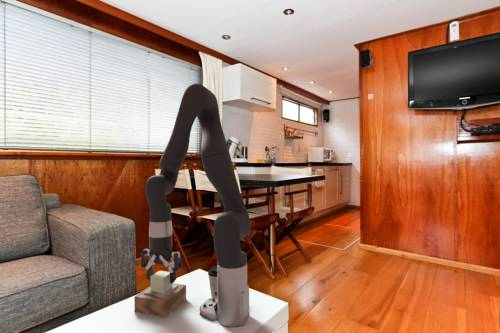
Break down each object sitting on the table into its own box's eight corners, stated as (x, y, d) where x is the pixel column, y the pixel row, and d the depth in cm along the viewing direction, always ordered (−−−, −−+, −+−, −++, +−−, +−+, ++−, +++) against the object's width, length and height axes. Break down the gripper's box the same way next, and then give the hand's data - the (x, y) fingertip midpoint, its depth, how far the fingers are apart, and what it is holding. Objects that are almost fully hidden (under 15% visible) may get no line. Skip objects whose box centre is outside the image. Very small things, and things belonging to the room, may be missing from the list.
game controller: (216, 319, 83) (204, 303, 84) (205, 329, 84) (193, 313, 86) (228, 303, 92) (217, 289, 94) (218, 312, 94) (207, 298, 95)
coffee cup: (217, 303, 94) (217, 274, 94) (203, 296, 99) (203, 269, 98) (231, 295, 100) (231, 268, 99) (217, 289, 104) (217, 263, 104)
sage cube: (172, 286, 95) (171, 272, 94) (163, 293, 90) (163, 278, 90) (159, 284, 96) (159, 270, 96) (150, 291, 91) (150, 276, 91)
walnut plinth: (186, 299, 97) (186, 283, 97) (166, 317, 85) (166, 299, 85) (156, 294, 100) (156, 279, 100) (134, 311, 89) (134, 294, 89)
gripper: (185, 232, 94) (185, 279, 94) (149, 229, 98) (150, 274, 98) (173, 238, 87) (173, 288, 87) (135, 235, 91) (136, 283, 91)
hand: (161, 281), depth 93 cm, fingers open, 8 cm apart
